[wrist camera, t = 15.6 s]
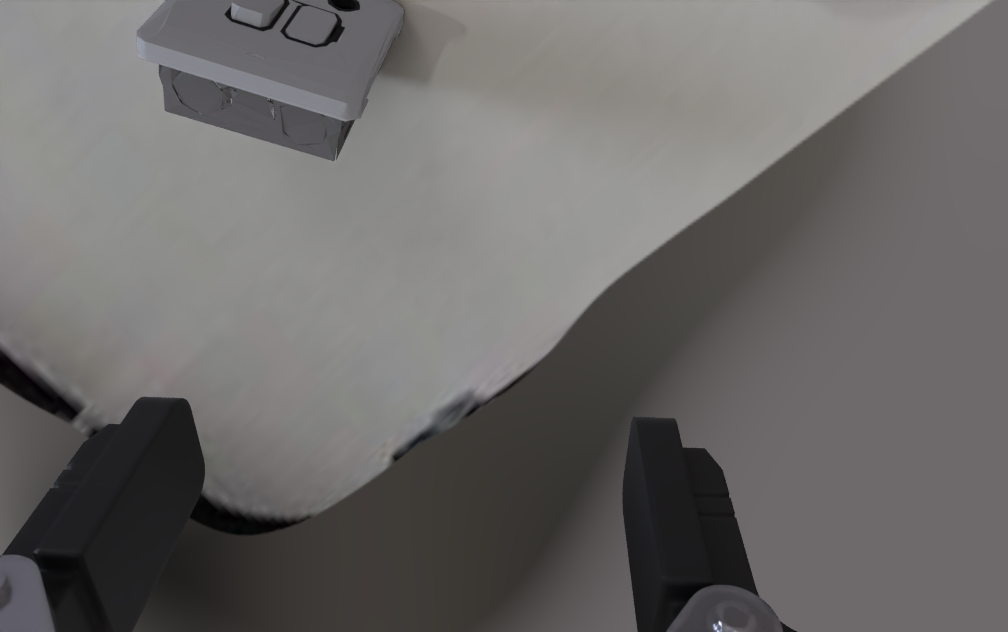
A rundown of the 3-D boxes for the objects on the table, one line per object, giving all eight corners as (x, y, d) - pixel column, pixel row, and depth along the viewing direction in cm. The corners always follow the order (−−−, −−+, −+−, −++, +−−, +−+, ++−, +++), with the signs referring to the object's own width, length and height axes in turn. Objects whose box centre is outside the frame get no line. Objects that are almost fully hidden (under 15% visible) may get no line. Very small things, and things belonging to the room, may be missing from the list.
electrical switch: (410, 3, 38) (367, 67, 31) (389, 101, 41) (346, 180, 34) (219, -59, 37) (127, -9, 30) (212, 46, 40) (128, 115, 33)
